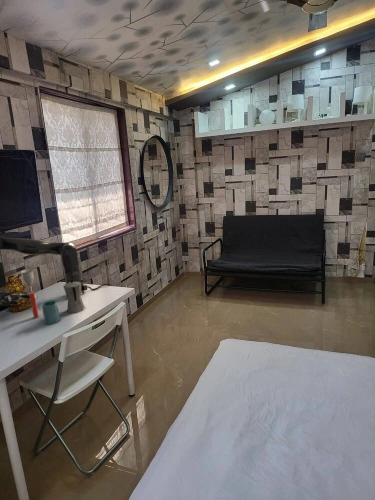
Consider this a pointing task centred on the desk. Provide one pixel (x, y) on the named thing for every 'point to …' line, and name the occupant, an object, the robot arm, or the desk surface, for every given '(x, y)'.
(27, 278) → the chalice
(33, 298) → the red cylindrical rod
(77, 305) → the coffeepot
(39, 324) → the desk surface
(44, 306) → the cup
